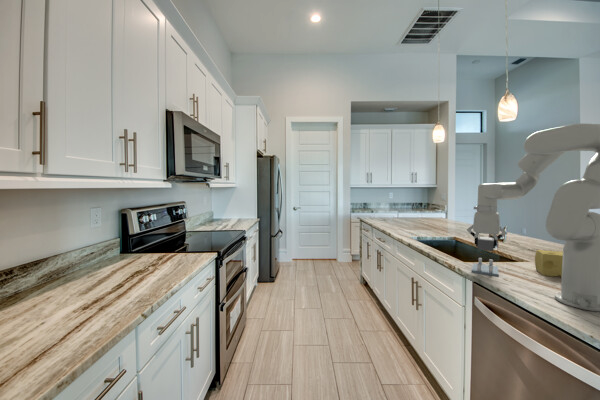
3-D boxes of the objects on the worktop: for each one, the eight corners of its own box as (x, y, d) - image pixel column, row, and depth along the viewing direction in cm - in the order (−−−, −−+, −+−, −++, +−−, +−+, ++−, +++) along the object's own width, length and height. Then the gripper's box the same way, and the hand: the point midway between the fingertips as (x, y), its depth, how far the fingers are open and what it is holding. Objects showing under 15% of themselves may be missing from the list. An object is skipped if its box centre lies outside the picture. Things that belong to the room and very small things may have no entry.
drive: (493, 251, 117) (493, 241, 117) (477, 249, 121) (477, 239, 121) (493, 247, 125) (493, 237, 125) (478, 245, 129) (478, 236, 129)
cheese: (573, 279, 111) (575, 256, 110) (540, 275, 116) (541, 253, 116) (564, 272, 120) (565, 251, 120) (534, 269, 125) (534, 248, 125)
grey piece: (498, 276, 115) (498, 267, 115) (471, 272, 121) (471, 263, 121) (498, 268, 126) (498, 260, 126) (473, 264, 132) (473, 257, 132)
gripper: (464, 209, 124) (463, 246, 125) (510, 211, 114) (509, 251, 115) (465, 208, 130) (464, 243, 131) (509, 209, 120) (508, 248, 121)
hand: (485, 246), depth 123 cm, fingers closed on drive, 6 cm apart
